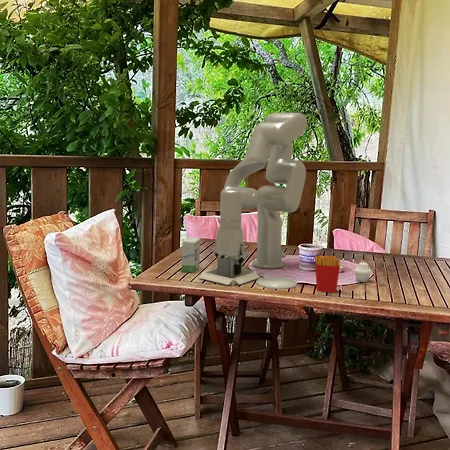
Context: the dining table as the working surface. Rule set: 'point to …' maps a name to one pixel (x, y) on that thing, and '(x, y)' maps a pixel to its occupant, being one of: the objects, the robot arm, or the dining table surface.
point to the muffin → (362, 272)
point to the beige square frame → (246, 277)
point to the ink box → (190, 254)
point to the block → (227, 267)
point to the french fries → (327, 273)
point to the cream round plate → (276, 282)
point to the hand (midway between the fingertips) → (229, 272)
